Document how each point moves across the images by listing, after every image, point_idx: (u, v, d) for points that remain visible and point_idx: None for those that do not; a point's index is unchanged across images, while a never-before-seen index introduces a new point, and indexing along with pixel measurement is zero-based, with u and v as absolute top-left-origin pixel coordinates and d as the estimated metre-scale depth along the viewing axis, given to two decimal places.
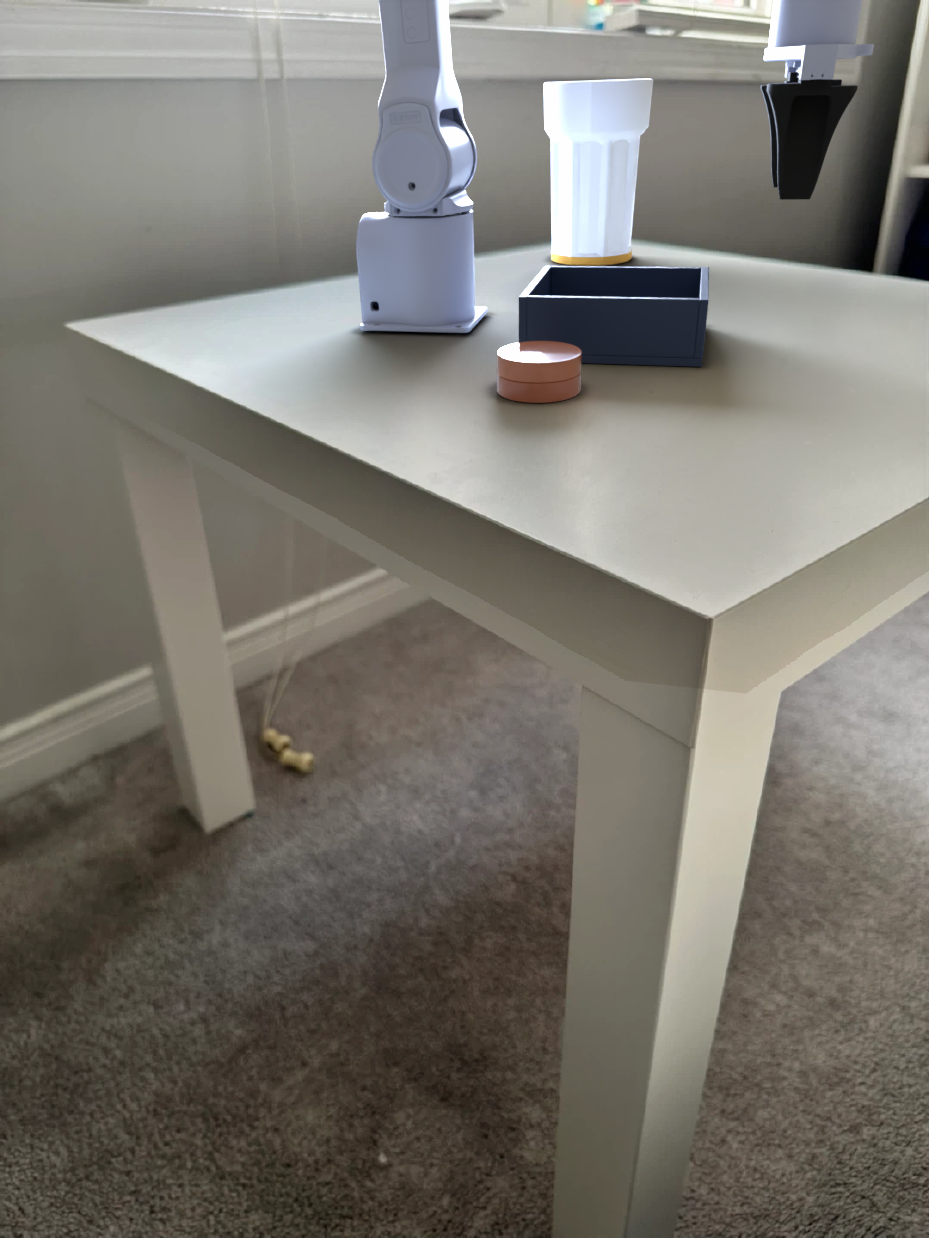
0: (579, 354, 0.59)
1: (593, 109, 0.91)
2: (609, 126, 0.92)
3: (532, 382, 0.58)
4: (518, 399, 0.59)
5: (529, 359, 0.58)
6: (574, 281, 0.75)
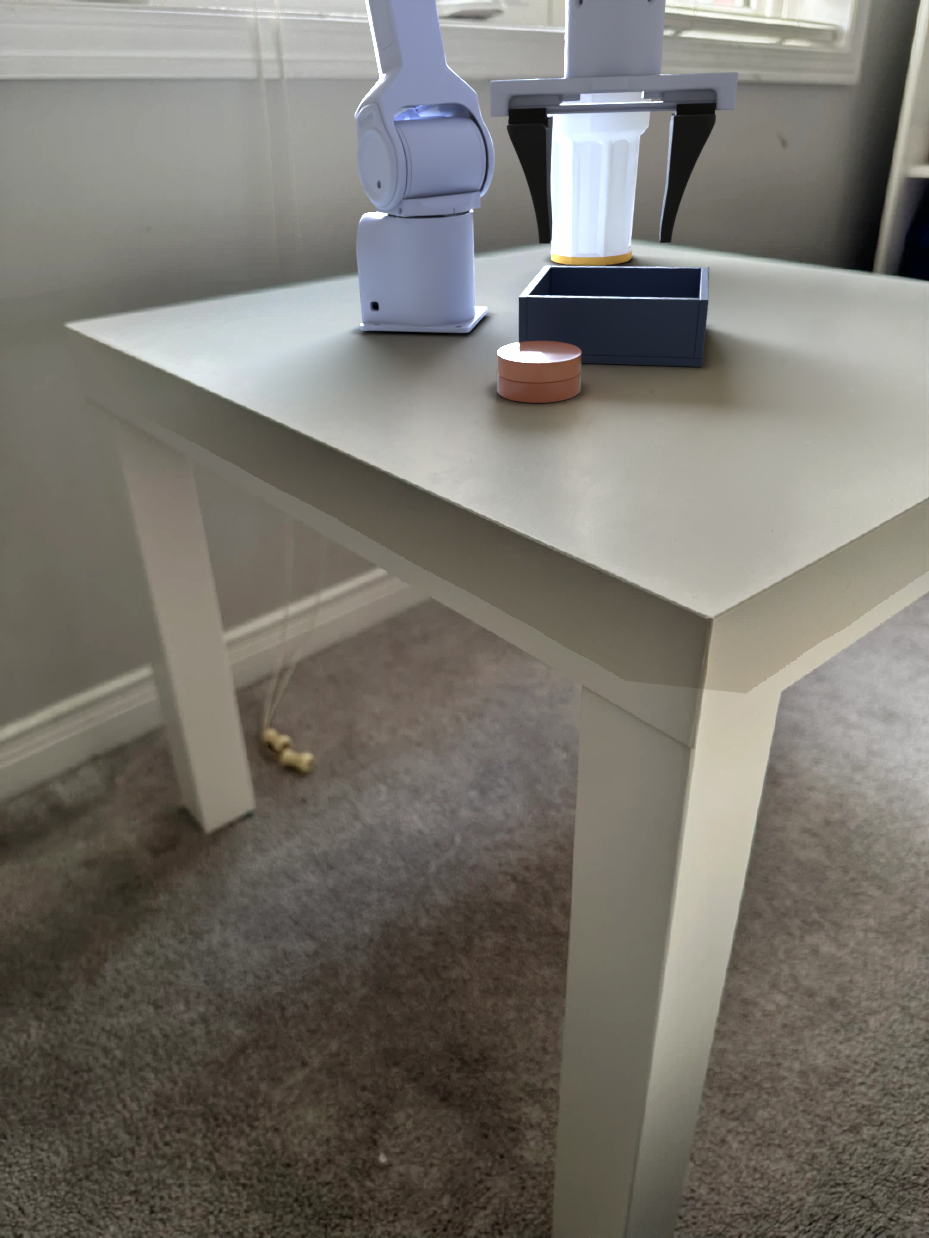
0: (579, 354, 0.59)
1: None
2: (609, 126, 0.92)
3: (532, 382, 0.58)
4: (518, 399, 0.59)
5: (529, 359, 0.58)
6: (574, 281, 0.75)
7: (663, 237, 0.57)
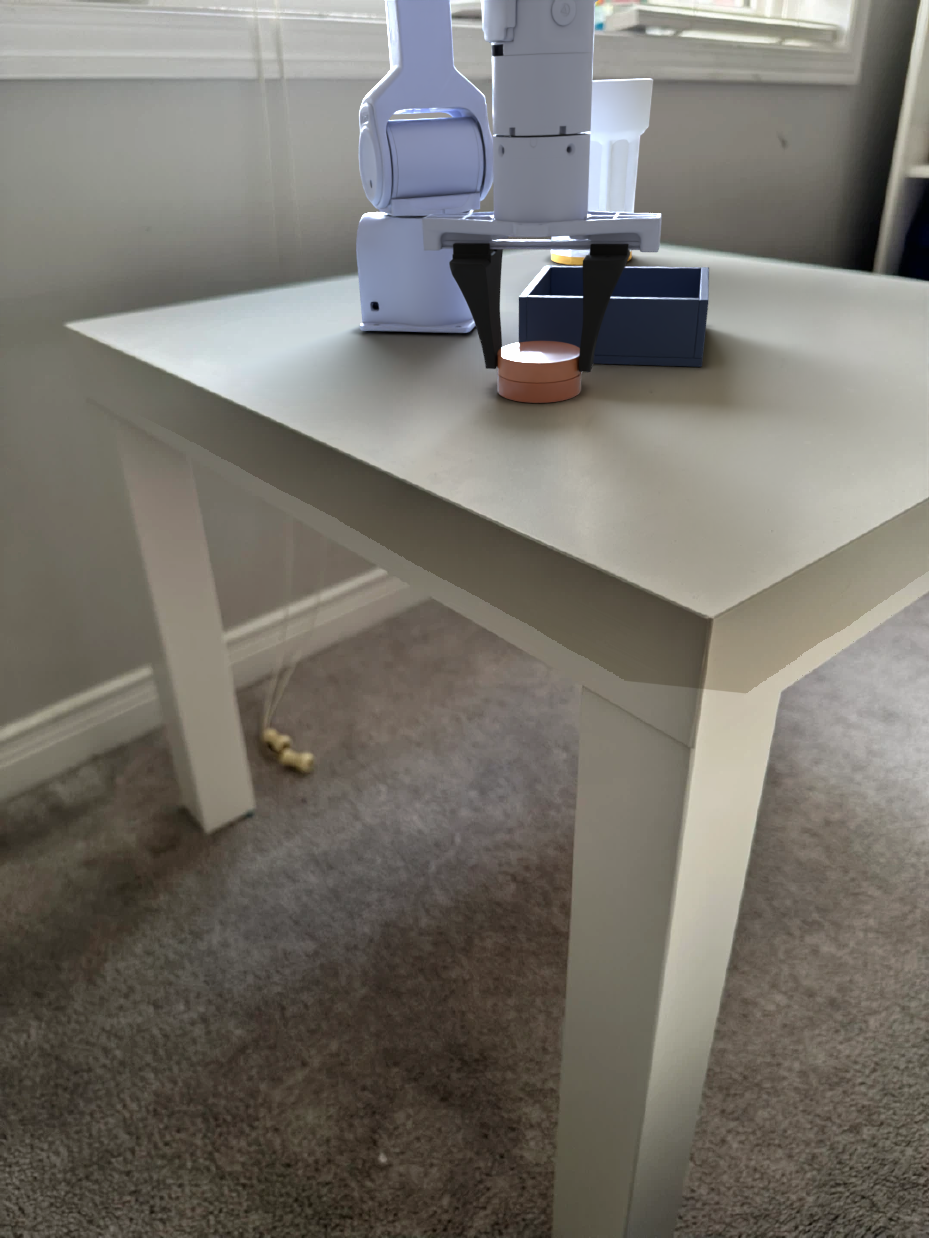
0: None
1: (593, 109, 0.91)
2: (609, 126, 0.92)
3: (532, 382, 0.58)
4: (518, 399, 0.59)
5: (530, 359, 0.58)
6: (574, 281, 0.75)
7: (581, 366, 0.58)
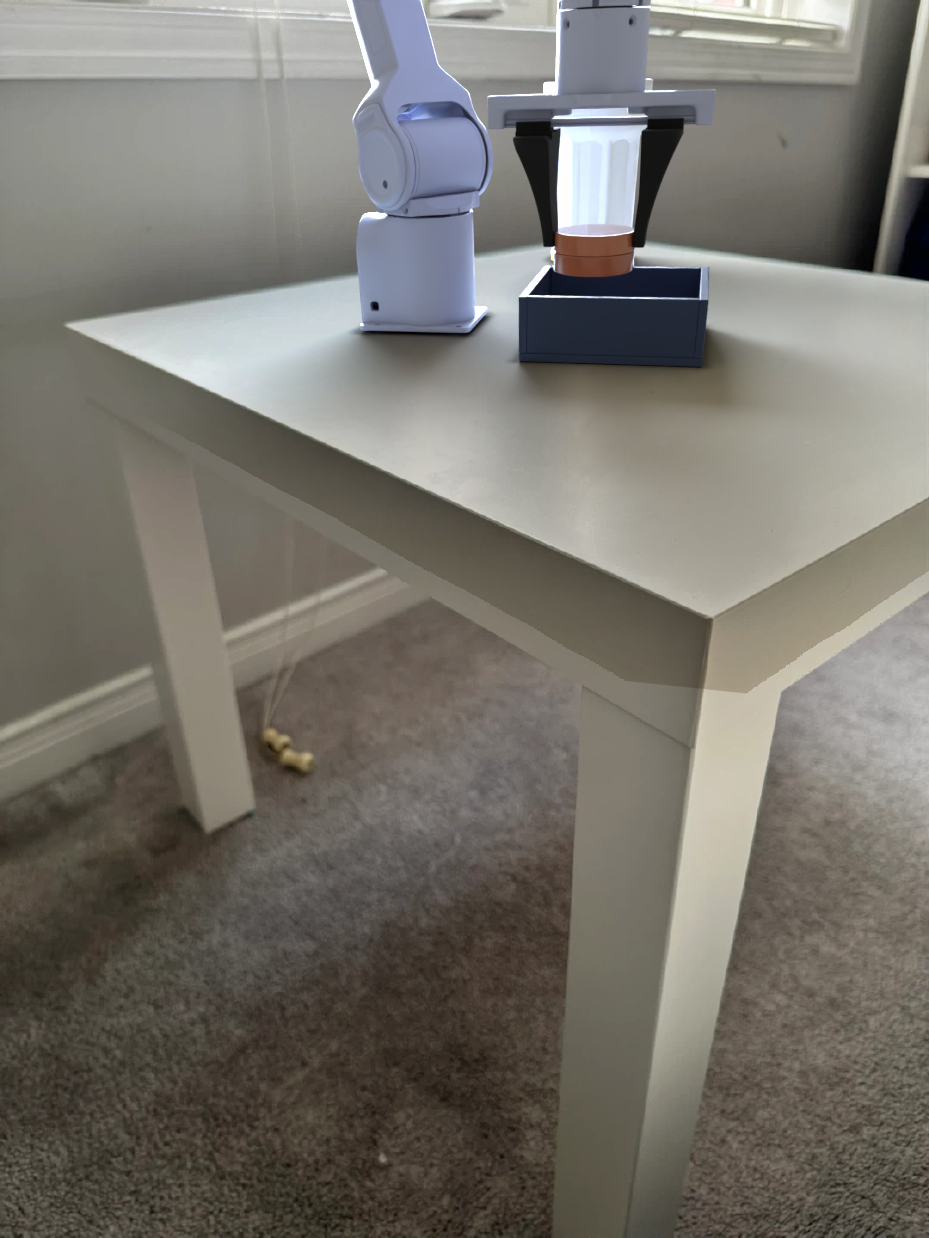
0: (633, 231, 0.62)
1: (593, 109, 0.91)
2: (609, 126, 0.92)
3: (589, 256, 0.61)
4: (575, 274, 0.62)
5: (587, 234, 0.61)
6: (574, 281, 0.75)
7: (635, 242, 0.62)
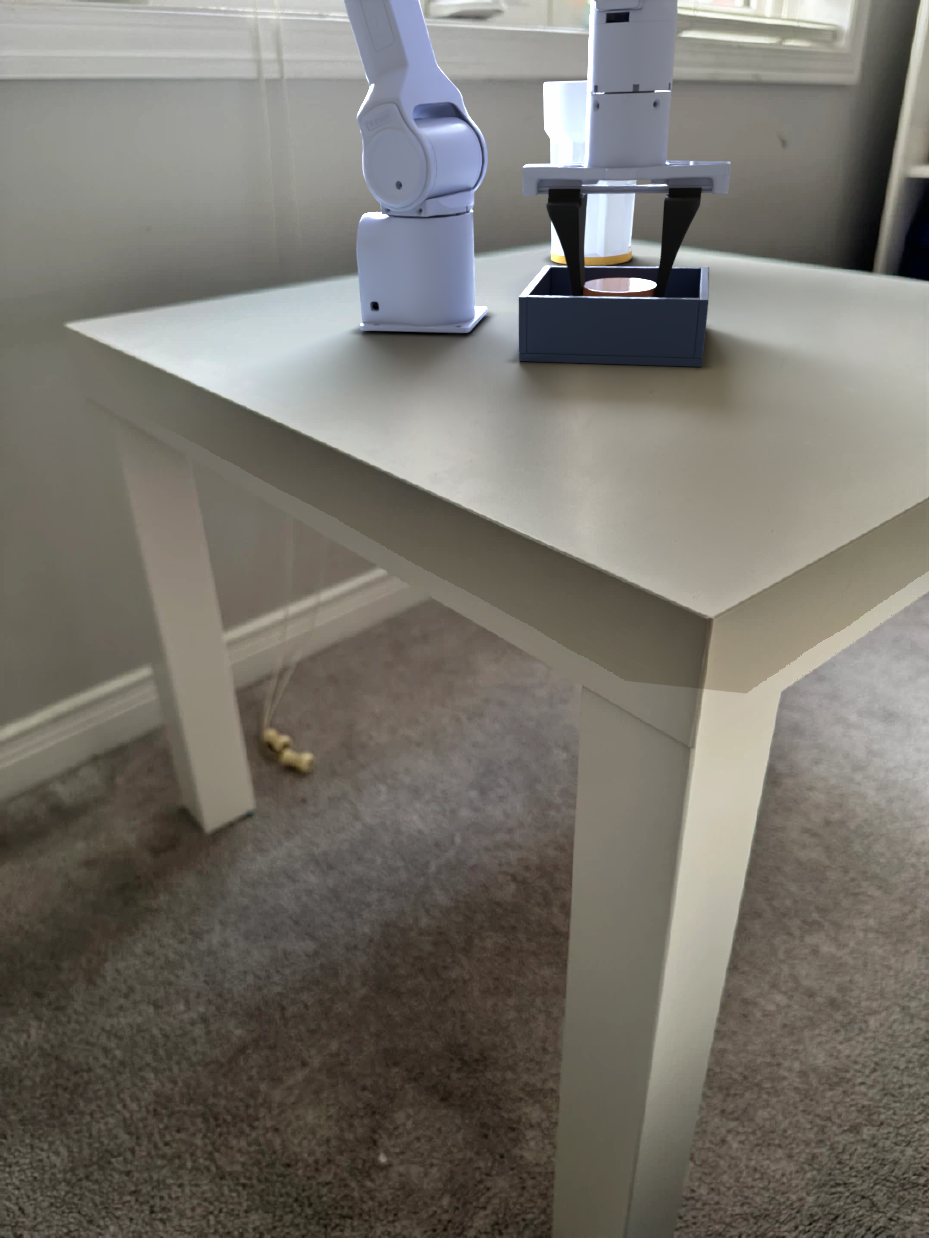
0: (655, 286, 0.68)
1: None
2: None
3: None
4: None
5: (613, 290, 0.67)
6: None
7: (657, 296, 0.68)
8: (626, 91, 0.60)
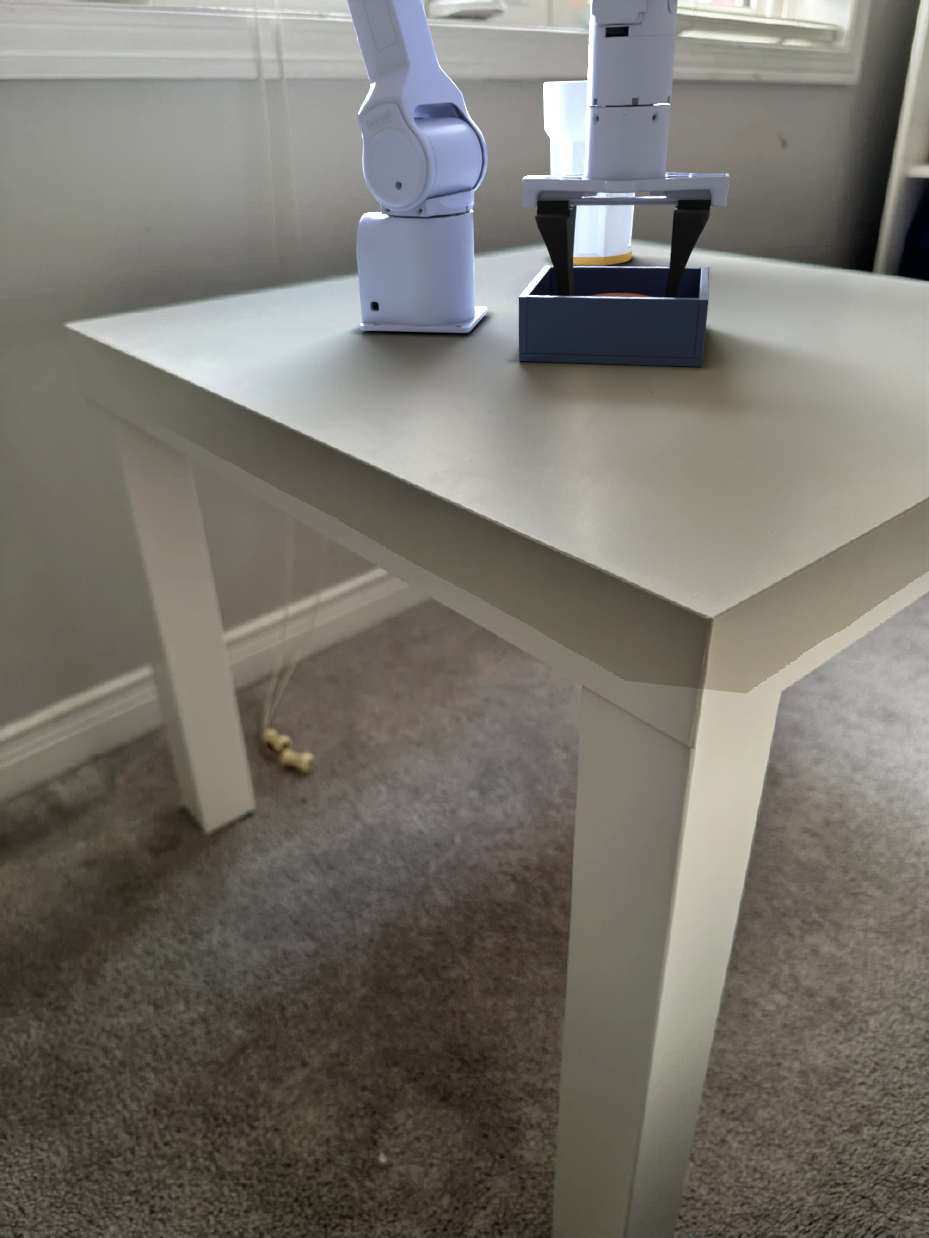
0: None
1: None
2: None
3: None
4: None
5: None
6: (574, 281, 0.75)
7: None
8: (625, 104, 0.60)
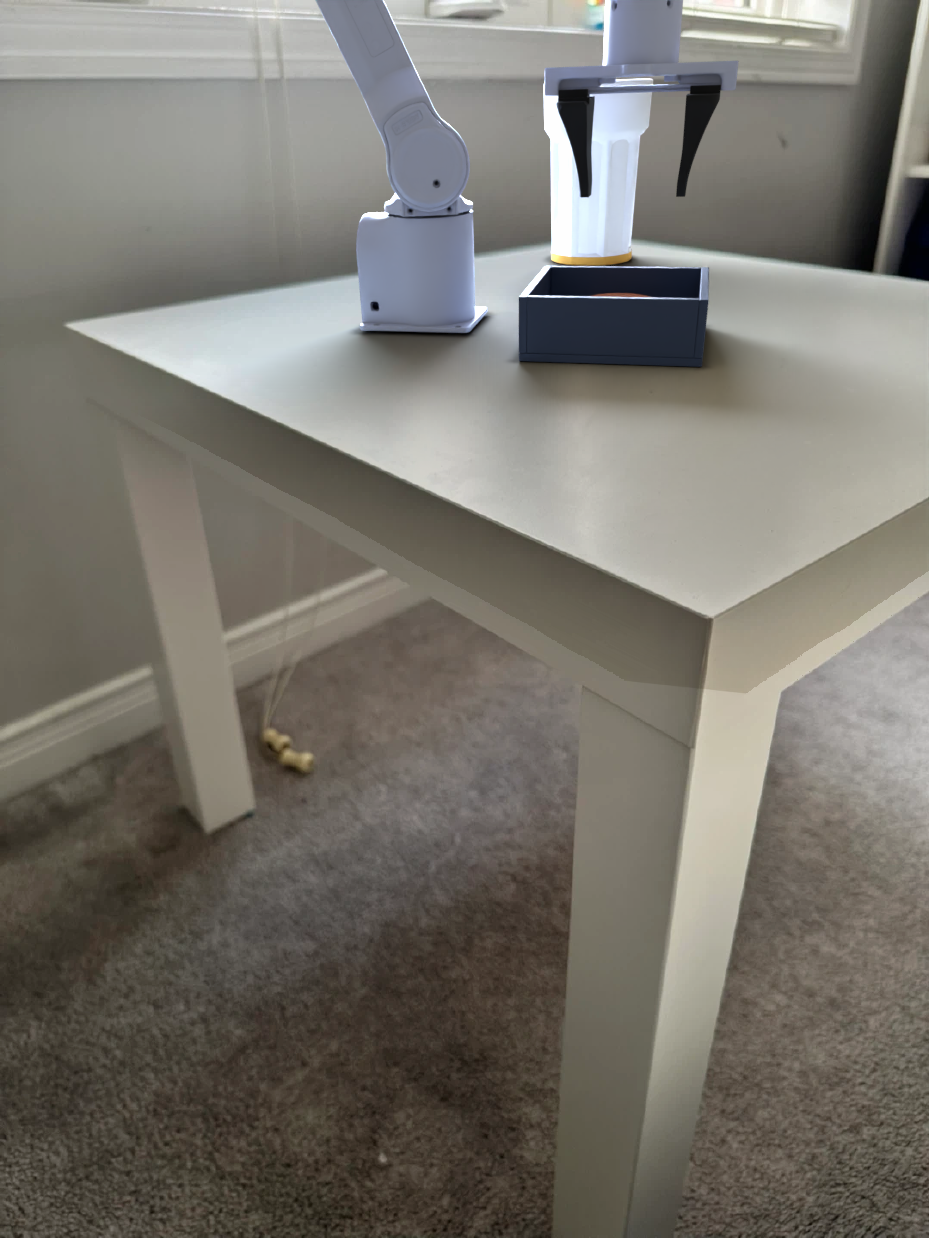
0: None
1: None
2: (609, 126, 0.92)
3: None
4: None
5: None
6: (574, 281, 0.75)
7: (678, 192, 0.72)
8: None
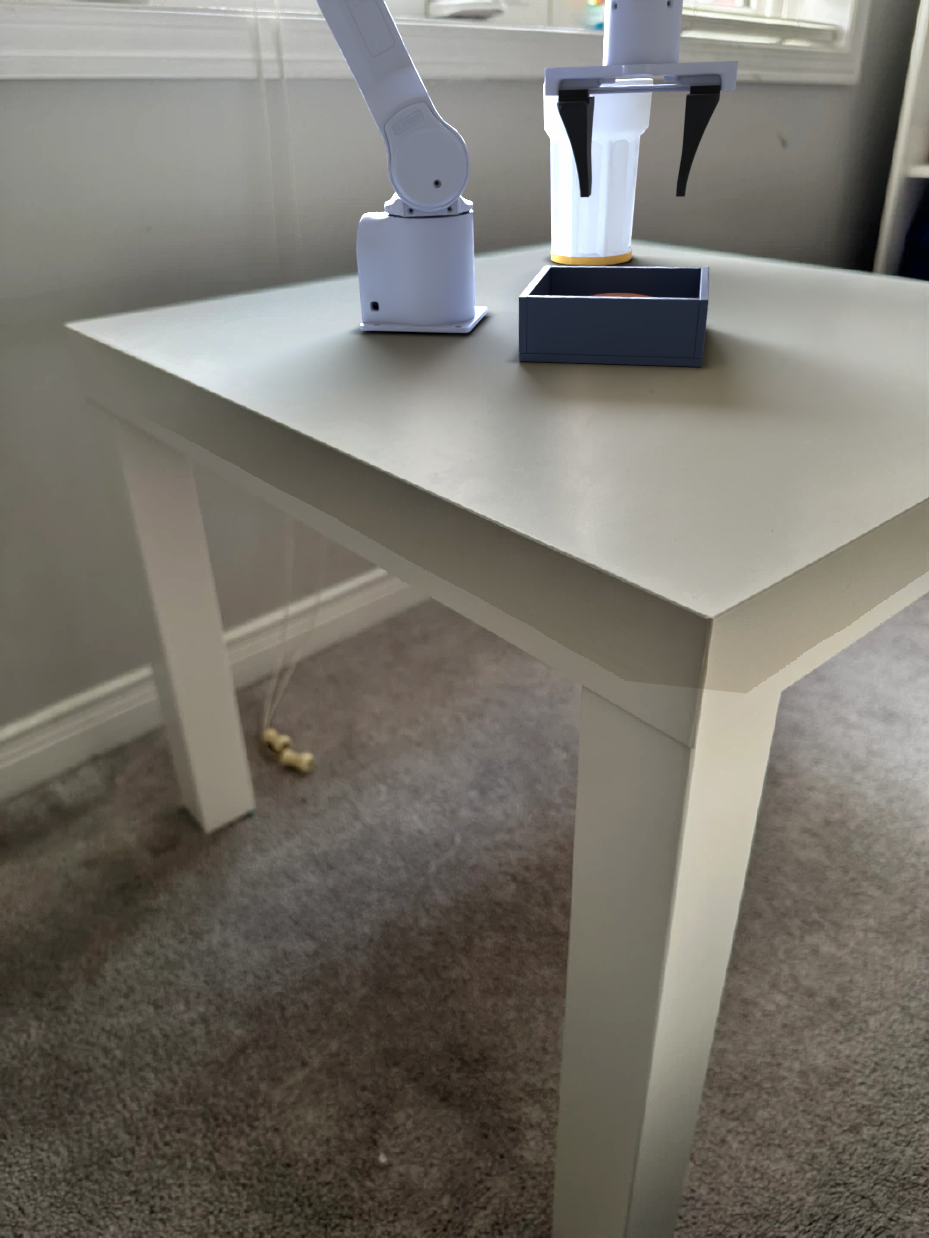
0: None
1: None
2: (609, 126, 0.92)
3: None
4: None
5: None
6: (574, 281, 0.75)
7: (678, 192, 0.73)
8: None
